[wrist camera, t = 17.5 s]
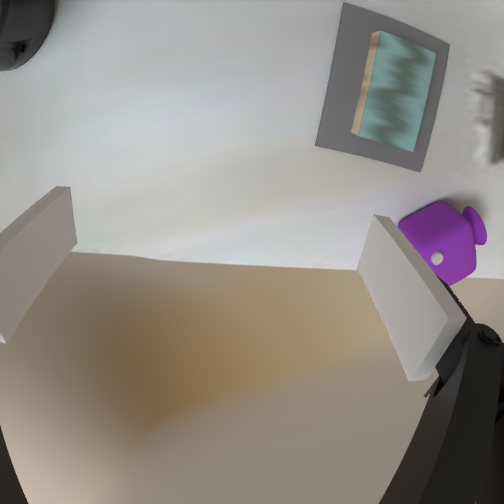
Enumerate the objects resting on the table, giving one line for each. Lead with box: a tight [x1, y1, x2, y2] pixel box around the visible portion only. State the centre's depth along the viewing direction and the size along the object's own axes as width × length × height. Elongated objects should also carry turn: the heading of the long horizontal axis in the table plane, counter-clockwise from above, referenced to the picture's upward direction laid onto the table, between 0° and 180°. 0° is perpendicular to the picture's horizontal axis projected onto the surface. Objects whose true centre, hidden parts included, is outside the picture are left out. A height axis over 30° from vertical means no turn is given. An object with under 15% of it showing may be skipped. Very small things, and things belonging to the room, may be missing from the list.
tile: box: [351, 31, 436, 152], centre depth 34 cm, size 8×3×14 cm
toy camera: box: [398, 201, 487, 286], centre depth 41 cm, size 11×14×10 cm
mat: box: [315, 3, 449, 172], centre depth 35 cm, size 16×20×1 cm
